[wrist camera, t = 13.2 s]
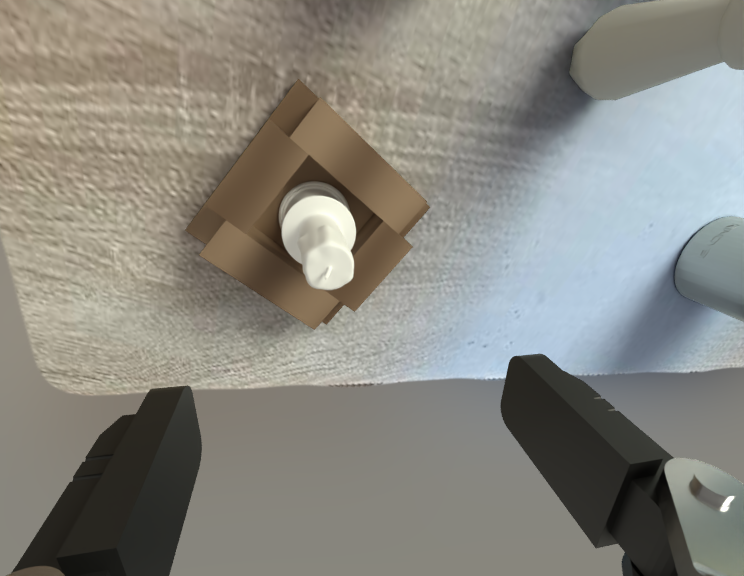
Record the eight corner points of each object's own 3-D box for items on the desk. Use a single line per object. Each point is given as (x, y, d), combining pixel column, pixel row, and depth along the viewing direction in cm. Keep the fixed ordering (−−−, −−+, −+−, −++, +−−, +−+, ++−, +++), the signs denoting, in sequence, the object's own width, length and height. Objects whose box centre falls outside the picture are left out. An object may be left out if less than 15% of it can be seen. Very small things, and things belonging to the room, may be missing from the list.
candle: (319, 264, 29) (337, 342, 18) (263, 221, 27) (245, 281, 16) (364, 213, 28) (410, 263, 17) (309, 164, 26) (323, 187, 15)
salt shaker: (585, 119, 30) (775, 110, 18) (544, 66, 28) (731, 19, 16) (638, 55, 29) (877, 3, 17) (601, -5, 27) (845, -112, 15)
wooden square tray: (426, 205, 30) (444, 214, 26) (325, 319, 32) (329, 342, 29) (298, 80, 25) (299, 72, 21) (188, 226, 27) (172, 241, 23)
